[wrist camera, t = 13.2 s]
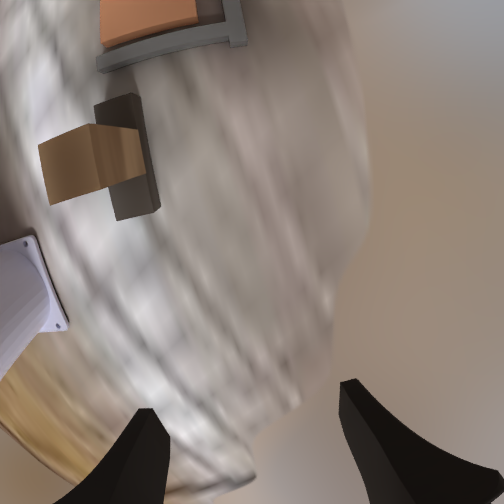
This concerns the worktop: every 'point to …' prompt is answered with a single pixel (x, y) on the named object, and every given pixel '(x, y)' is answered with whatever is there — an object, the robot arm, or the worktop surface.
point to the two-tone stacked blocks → (104, 159)
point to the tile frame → (180, 40)
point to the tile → (142, 18)
